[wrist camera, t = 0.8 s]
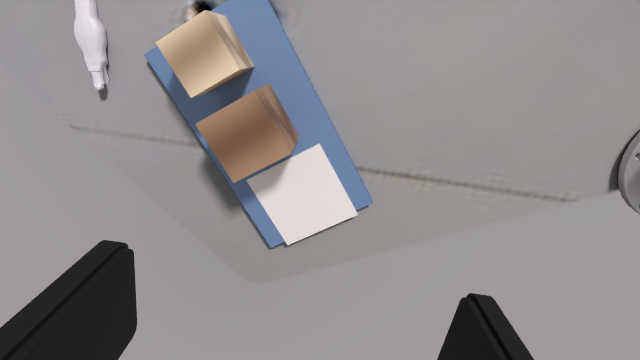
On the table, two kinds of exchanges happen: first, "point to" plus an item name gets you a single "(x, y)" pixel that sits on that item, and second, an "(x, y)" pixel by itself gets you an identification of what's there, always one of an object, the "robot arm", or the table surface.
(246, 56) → the maple cube
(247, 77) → the board
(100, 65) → the stylus pen
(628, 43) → the table surface
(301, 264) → the table surface
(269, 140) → the walnut cube
